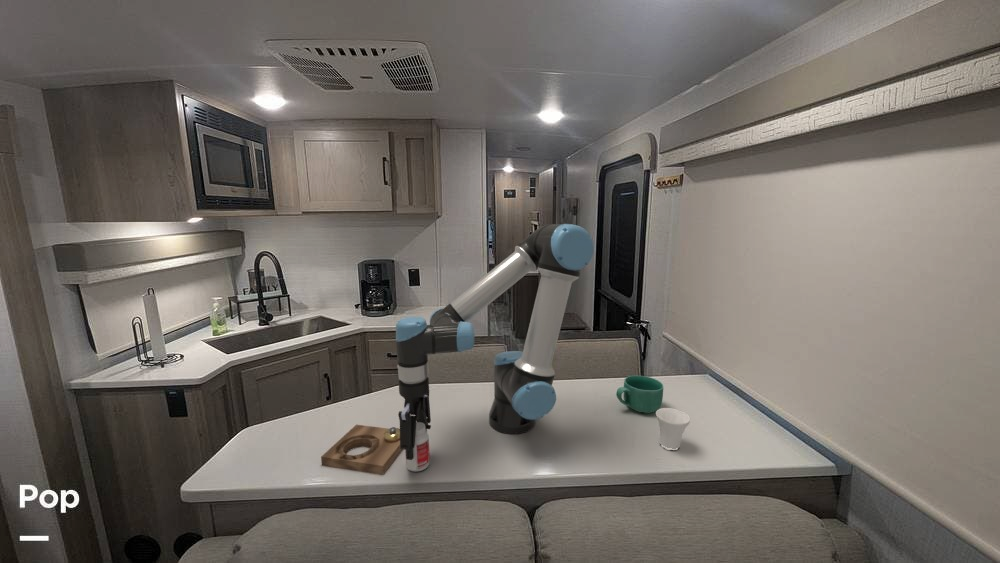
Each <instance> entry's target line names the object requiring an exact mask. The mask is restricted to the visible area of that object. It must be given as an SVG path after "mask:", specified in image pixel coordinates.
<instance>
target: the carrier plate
mask: <svg viewBox="0 0 1000 563" xmlns="http://www.w3.org/2000/svg"><path fill="white" fill-rule="evenodd" d="M388 429H389V428H386V427H379V426H371V425H363V424H355V425H354V426H353V427H352V428H350V429H349V431H348V432H346V433H345V434H344V435H343V436H342V437H341V438H340V439H339V440H337V441H336V442H335V443H334V444H333V445H332V446H331V447H329V449H328V450H326V452H324V453H323V454H322V455H321V457H320V458H321V466H325V467H330V468H331V467H332V468H337V469H344V470H351V471H356V472H364V473H370V474H375V475H385V473H386V472H387V471H388V470H389V468H390V466H392V464H393V463H394V462H395V461H396V459H397V458H398V456H399V455H400V454H401V452H402V451H403V450H404V449H400V440H399V441H397V442H393V443H388V442H386V441H385V440H384V432H385V431H387V430H388ZM363 446H364V447H366V448H369V449H368V450H366V451H364V452H362V453H359V454H354V455H352V454H347V453H348V452H349V451H352V450H354V449H356V447H357V448H362V447H363ZM353 448H354V449H353ZM351 449H352V450H351Z"/></svg>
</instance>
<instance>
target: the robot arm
mask: <svg viewBox="0 0 1000 563" xmlns="http://www.w3.org/2000/svg"><path fill="white" fill-rule="evenodd" d="M594 248H595V247H594V242H593V238H592V237H591V235H590V233H589V232H588V231H587V230H586V229H585V228H583V227H582V226H579V225H577V224H571V223H562V224H561V223H549V224H548V223H547V224H545V225H542V226H540V227H539V228H536V230H534V231H533V232H531V234H529V235H528V236H526V238H524V239H523V240H521V241H520V242H519V243H518V244H517V245H516V246H515V247H514V252H512V253H511V254H510V255H508V256H507V257H506V258H505V259H503V260H502V261H501V262H500V263H499V264H497V265H496V266H495V267H493V268H492V269H491V270H490V271H489V272H488V273H486V274H485V275H484V276H482V277H481V278H479V279H478V281H476V282H475V283H473V284H472V285H471V286H469V288H467V289H466V290H465V291H464V292H462V293H461V294H460V295H459V296H458V297H456V298H455V299H454V300H452V301H451V302H450V303H449V304H447V305H446V306H445V307H443V308H439V309H438V308H437V309H436V310H433V312H432V313H431V315H430V318H429V324H428V323H427V320H426V318H424V317H420V316H417V317H416V316H409V317H405V318H404V317H403V318H401V319H400V320H397V322H396V325H395V344H396V356H397V358H396V359H397V365H396V368H397V372H398V373H397V374H398V393H399V396H401V397H402V398H403V399H404V403H403V404H404V405H403V407H404V408H403V411H402V410H400V411H398V419H399V429H400V449H403V450H406V453H405V466H406V470H409V469H412V470H417V468H418V464H417V445H415V435H416V423H417V422H421V423H424V424H425V429H426V430H425V431H426V432H427V433H428V430H431V427H432V425H430V423H431V421H432V420H431V409H430V408H431V407H430V383H429V382H430V377H429V375H430V374H429V371H430V370H429V358H428V356H429V355H438V354H448V353H449V354H451V353H462V352H464V351H465V352H466V351H469V350H472V349H473V348H474V346H475V330H474V327H473V324H472V323H471V322H470V320H471V319H473V318H474V317H476V315H477V314H479V313H481V311H482V310H484V309H485V308H486V307H487V306H489V305H490V304H491V303H493V302H494V301H496V299H497V298H499V297H500V296H502V294H503V293H505V292H506V291H508V290H509V289H510V288H511V287H512V286H514V285H515V284H516V283H517V282H518V281H520V280H521V279H523V277H524V276H526V275H528V273H529V272H536V271H537V270H538V272H539V273H540V280H539V284H538V287H537V292H536V296H535V300H534V304H533V309H532V312H531V317H530V321H529V324H528V325H529V326H528V330H527V333H526V337H525V341H524V346H523V350H522V351H521V350H512V351H511V350H510V351H509V350H507V351H504V352H500V353H497V354H496V355H495V356H494V362H493V368H494V370H493V371H494V372H493V374H494V375H493V378H494V379H493V380H494V384H493V385H494V386H493V387H494V392H493V393H494V395H493V396H494V398H493V401H492V405H491V408H490V411H489V414H488V421H489V422H488V423H489V425H490V427H491V428H493V430H495V431H497V432H500V433H503V434H507V435H518V434H523V433H527V432H529V431H531V430H532V429H533V428H534V427H535V426H536V423H537V421H536V420H538V419H539V420H540V419H541V418H544V416H546V415H548V414H549V413H550V412H551V411H552V410H553V409H554V407H555V405H556V401H557V394H556V390H555V388H554V386H553V382H554V379H555V374H556V371H555V370H554V367H553V366H552V363H553V359H554V355H555V351H556V348H557V343H558V339H559V336H560V331H561V328H562V323H563V319H564V317H565V316H564V315H565V312H566V308H567V304H568V299H569V295H570V291H571V288H572V283H574V282H575V281H577V280H578V279H579V278H580V275H581V272H582V269H583V268H585V267H586V266H588V265H589V264H590V262H591V260H592V259H593V256H594V252H595V250H594Z"/></svg>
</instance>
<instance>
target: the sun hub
mask: <svg viewBox="0 0 1000 563" xmlns="http://www.w3.org/2000/svg"><path fill="white" fill-rule="evenodd" d="M384 440H385V441H386V442H388V443H393V442H397V441H399V440H400V427H399V428H398V427H394V426H392V427H389V428H388V430H387V431H385V432H384Z"/></svg>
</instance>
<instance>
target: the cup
mask: <svg viewBox="0 0 1000 563" xmlns="http://www.w3.org/2000/svg"><path fill="white" fill-rule="evenodd" d="M655 415H656V417H657V418H656V419H657V420H658V426H659V441H658V443H659V442H660V444H661V445H663V446H665V447H667V448H672V449H676V448H679V447H680V448H681V441H682V438H683V434H684V433H685V430H686V428H687V427H688V425H689V424H690V423H691V418H690V416H689V414H688V413H686V412H684V411H682V410H680V409H677V408H671V407H660V408H659V409H658V410H657V411H655ZM660 444H659V445H660Z"/></svg>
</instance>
